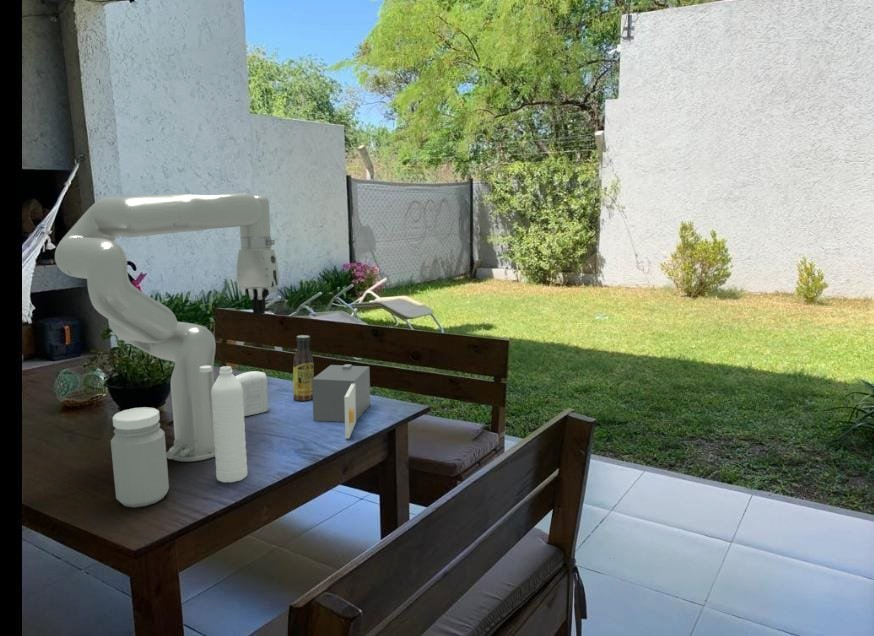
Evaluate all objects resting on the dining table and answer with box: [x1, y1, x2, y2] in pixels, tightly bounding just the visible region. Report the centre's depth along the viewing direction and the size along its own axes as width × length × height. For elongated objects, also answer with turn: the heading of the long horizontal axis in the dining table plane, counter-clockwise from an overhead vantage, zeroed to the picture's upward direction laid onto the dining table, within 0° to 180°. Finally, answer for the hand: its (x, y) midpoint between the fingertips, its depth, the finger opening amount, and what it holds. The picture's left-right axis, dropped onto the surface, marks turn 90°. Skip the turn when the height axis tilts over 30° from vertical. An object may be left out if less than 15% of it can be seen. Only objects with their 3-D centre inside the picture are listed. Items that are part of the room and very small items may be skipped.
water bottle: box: [200, 365, 248, 484], centre depth 133 cm, size 9×6×25 cm
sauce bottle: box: [292, 334, 315, 402], centre depth 189 cm, size 6×6×20 cm
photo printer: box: [234, 370, 269, 417], centre depth 176 cm, size 10×4×12 cm, turn 134°
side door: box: [344, 383, 357, 439], centre depth 162 cm, size 2×13×11 cm, turn 179°
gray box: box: [312, 363, 371, 423], centre depth 177 cm, size 16×14×13 cm
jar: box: [110, 406, 170, 508], centre depth 123 cm, size 10×10×18 cm
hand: (259, 313), depth 161 cm, fingers closed
